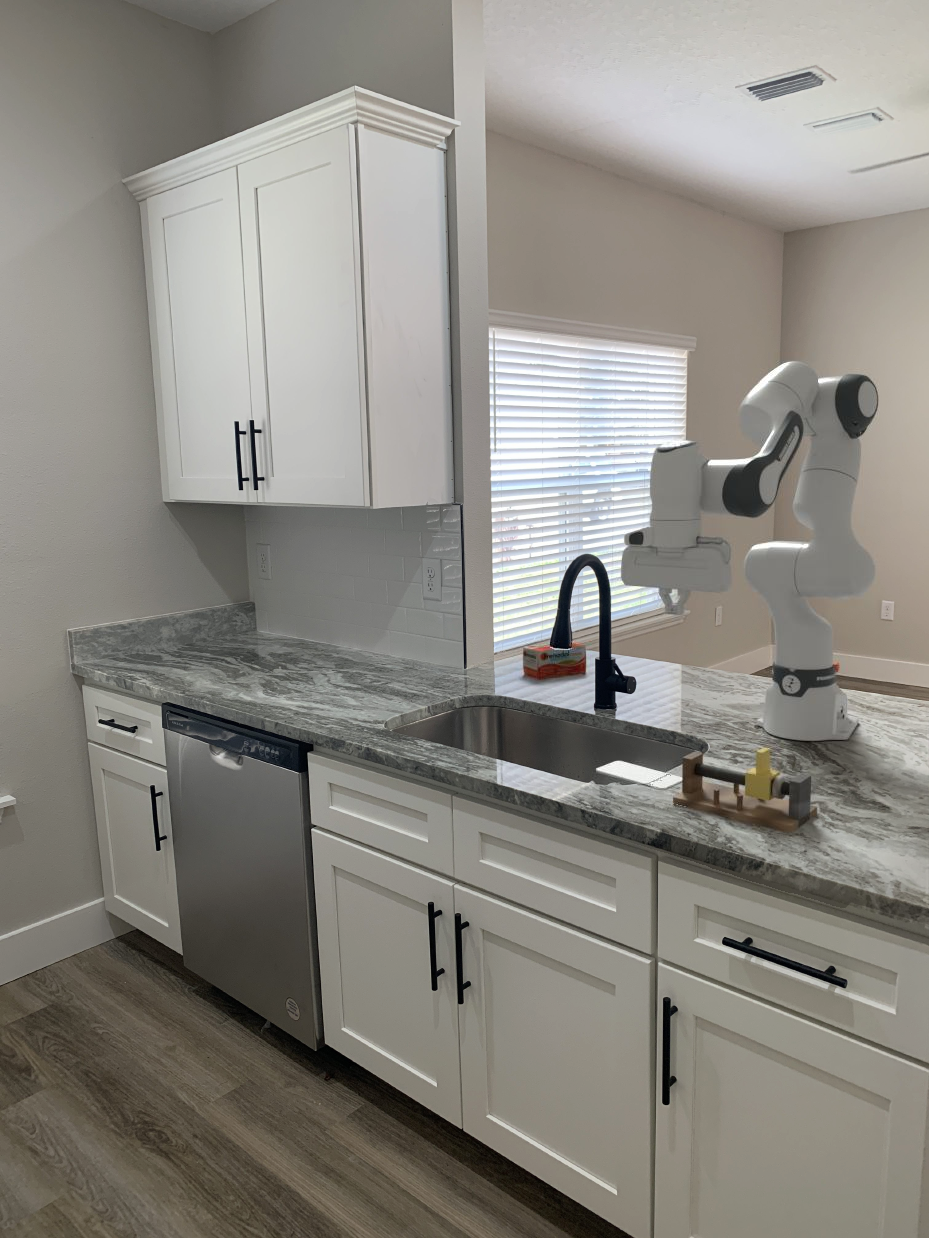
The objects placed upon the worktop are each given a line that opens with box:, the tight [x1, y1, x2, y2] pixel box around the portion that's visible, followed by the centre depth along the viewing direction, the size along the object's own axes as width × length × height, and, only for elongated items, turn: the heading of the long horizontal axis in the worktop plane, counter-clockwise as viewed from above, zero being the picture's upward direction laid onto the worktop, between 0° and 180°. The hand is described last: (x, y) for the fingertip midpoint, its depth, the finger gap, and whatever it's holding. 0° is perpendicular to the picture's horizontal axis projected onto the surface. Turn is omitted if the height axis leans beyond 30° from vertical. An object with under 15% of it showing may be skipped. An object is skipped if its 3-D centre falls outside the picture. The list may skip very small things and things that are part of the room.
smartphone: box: [595, 760, 682, 790], centre depth 169 cm, size 7×1×15 cm
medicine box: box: [522, 641, 587, 681], centre depth 250 cm, size 15×8×8 cm, turn 117°
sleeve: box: [744, 746, 781, 801], centre depth 149 cm, size 4×4×7 cm
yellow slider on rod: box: [672, 751, 818, 834], centre depth 152 cm, size 20×10×7 cm, turn 48°
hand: (674, 614), depth 166 cm, fingers closed
